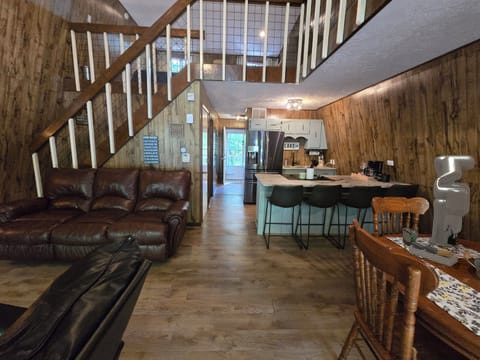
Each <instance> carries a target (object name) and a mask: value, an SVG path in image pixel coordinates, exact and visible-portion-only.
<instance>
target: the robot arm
mask: <svg viewBox="0 0 480 360" xmlns="http://www.w3.org/2000/svg"><path fill="white" fill-rule="evenodd" d="M475 164H476V162H475V158H474V157H473V156H472V155H440V156H436V157H435V158H434V160H433V167H434V170H435V172H436V175H437V178H436V180H435V181H434V183H433V196H434V198H435V199H434V200H433V202H432V206H433V220H432V221H433V223H432V231H431V232H432V234H431V238H428V242H429V243H430V244H432V245H434V246H435V245H436V246H439V247H445V248H450V247H451V248H452V247H453V246H456V245H457V238H458V233H460V232H461V231H462V225H463V217H465V215H466V214H469V211H470V207H471V205H470V204H471V202H470V201H471V188H470V185H469V184H467V183H465V182H456V181H459V180H460V179H462V177H463V172H462V171H463V170H473V168H474V167H475Z"/></svg>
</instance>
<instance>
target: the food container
mask: <svg viewBox="0 0 480 360" xmlns="http://www.w3.org/2000/svg"><path fill="white" fill-rule="evenodd" d="M418 237H419V232H418V231H417V230H415V229H412V228H407V227H402V243H403V244H404V243H405V244H404V245H405V246H407V247H408V246H412V245H411V243H412V242H414V241H415V242H417V238H418Z"/></svg>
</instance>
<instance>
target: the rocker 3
mask: <svg viewBox="0 0 480 360" xmlns="http://www.w3.org/2000/svg"><path fill="white" fill-rule="evenodd" d="M439 250H440V251H438V252H437V255H442V256H444V257H447V256H452V255H453V254H454V252H453V251H448V250H441V249H439Z"/></svg>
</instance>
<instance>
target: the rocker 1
mask: <svg viewBox="0 0 480 360" xmlns="http://www.w3.org/2000/svg"><path fill="white" fill-rule="evenodd" d="M411 245H412V246H414V247H415V248H417V249H418V248H419V249H423V247H424V246H425V245H424V244H422V243H419V242H417V241H416V242H415V241H414V242H412V243H411Z"/></svg>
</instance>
